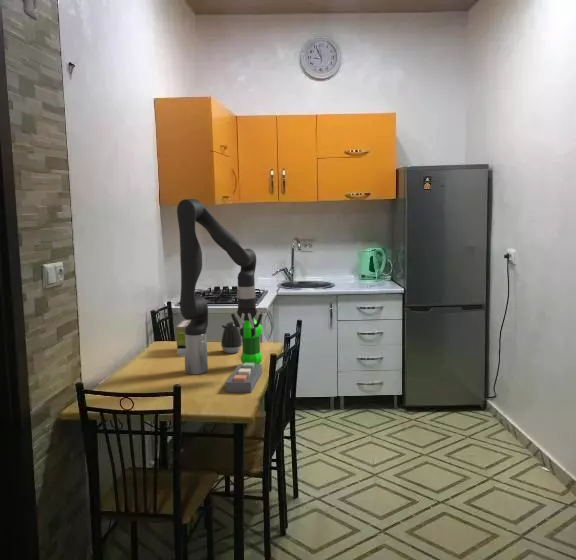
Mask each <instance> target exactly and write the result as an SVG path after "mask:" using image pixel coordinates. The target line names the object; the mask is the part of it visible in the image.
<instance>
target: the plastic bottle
mask: <svg viewBox="0 0 576 560" xmlns="http://www.w3.org/2000/svg"><path fill="white" fill-rule="evenodd" d="M254 323H255V324H256V323H257V319H255V318H254ZM243 328H244V337H242V336H241V340H242V345H241V347H242V353H241V355H240V361H241V364H244V363H255V364H261V363H262V360H263V354H262V351H261V337H260V336H261V335H262V334H263V325H262V324H261V323H260V325H259V326H258V327H256V328H255V336H254V337H251V324H250V321H248V320H246V321H245V322H244V326H243ZM238 329H239V333H240V328H239V327H238Z"/></svg>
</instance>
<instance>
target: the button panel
mask: <svg viewBox="0 0 576 560" xmlns="http://www.w3.org/2000/svg"><path fill="white" fill-rule="evenodd" d="M242 365H243V363H239V364H238V365H237V366H236V367H235V369H234V370H233V371H232V373H231V374H230V375H229V377H228V378H227V379H226V381H225V393H249V394H250V393H252V392H253V391H254V389H255V387H256V385H257V383H258V382H259V380H260V378H261V376H262V375H263V365H262V364H261V363H260V364H255V367H254V369H251V374H250V375H247V380H246V381H245V382H244V381H234V377H235V375H238V371H239V370H240V368H241V369H245V368H243V366H242Z"/></svg>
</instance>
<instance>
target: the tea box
mask: <svg viewBox="0 0 576 560" xmlns="http://www.w3.org/2000/svg"><path fill="white" fill-rule="evenodd" d="M190 321H191V319H190V320H181V321H180V322H179V323H178V324H177V326H175V334H176V335H175V336H176V349H177V350H176V351H177V356H180V357H181V356H184V357H185V354H184V352H185V351H186V343H185V328H186V326H187V325H188V324H189V323H190Z"/></svg>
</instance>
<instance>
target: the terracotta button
mask: <svg viewBox="0 0 576 560" xmlns="http://www.w3.org/2000/svg"><path fill="white" fill-rule="evenodd" d="M246 380H247V375H235V377H234V381H244V382H245V381H246Z"/></svg>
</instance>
